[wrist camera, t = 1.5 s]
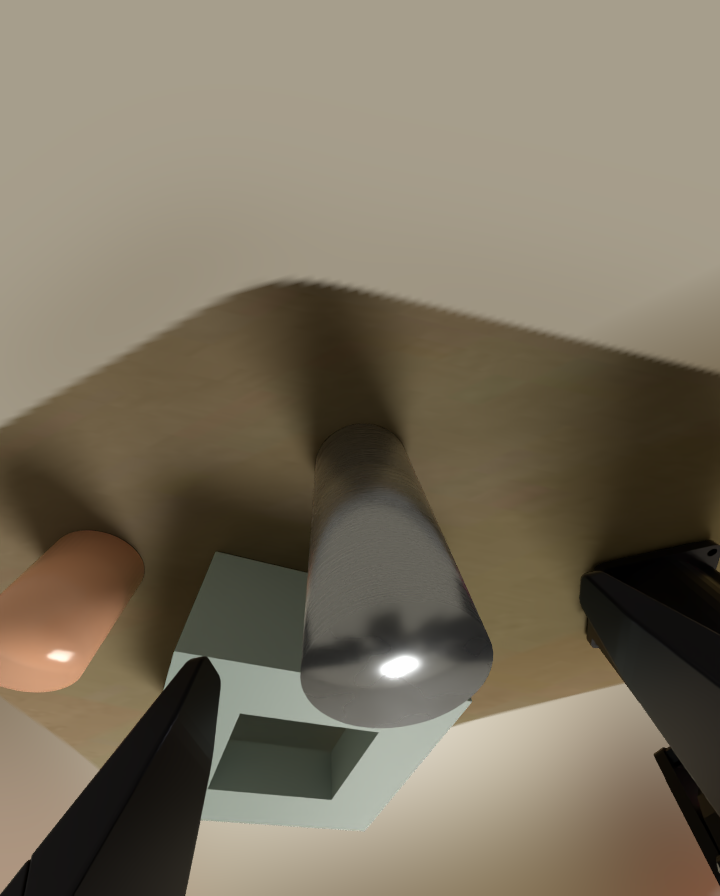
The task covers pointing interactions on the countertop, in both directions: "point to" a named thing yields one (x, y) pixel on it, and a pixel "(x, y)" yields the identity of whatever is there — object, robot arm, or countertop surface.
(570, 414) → the countertop surface
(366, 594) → the steel pin
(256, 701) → the slate pin jig
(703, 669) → the robot arm
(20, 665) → the terracotta stub
